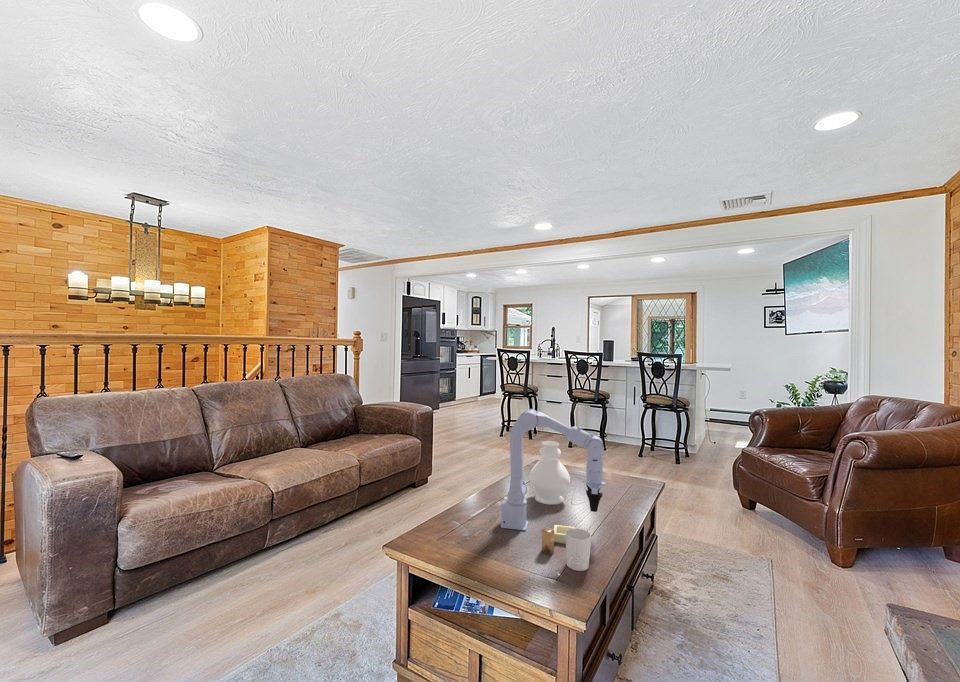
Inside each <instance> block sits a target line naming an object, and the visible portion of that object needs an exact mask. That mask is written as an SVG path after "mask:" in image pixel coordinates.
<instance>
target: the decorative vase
mask: <svg viewBox="0 0 960 682" xmlns="http://www.w3.org/2000/svg"><path fill="white" fill-rule="evenodd" d="M559 446H560V443H559V442H558V441H553V440H545V441H542V442H541V448H539V455H540V456H541V457H542V458H540V460H539V461H537V462H536V463H535V464H534V466H533V467H532V469H531V470H530V472H529V477H528V478H529V483H530V486H531V487H532V488H533V490H534V491H535V493H536V494H535V496H534V499H535V501H536V502H537V503H540V504H544V505H553V506H554V505H560V504H562V503H563V502H564V497H562V495H563V494H564V493H565V492H566V490H567V489H568V488H569V486H570V484H571V476H570V474H569V471H568V470H567V468H566V466H565V465H564V464H563V462H561V461H560V460H559V459H558V458H560V456H561V455H562V452H561V449H560V447H559Z"/></svg>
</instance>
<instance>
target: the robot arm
mask: <svg viewBox="0 0 960 682" xmlns="http://www.w3.org/2000/svg"><path fill="white" fill-rule="evenodd" d="M536 427H537V429H539V428H544V427H545V428H546V427H547V428H548V429H550V430H552V431H555V432H558V433H560V434H562V435H564V436H566V438H567V441H569V442H571V443H573V444H575V445H577V446H579V447H581V448H583V449H587V455H586V469H585V470H586V471H585V474H586V475H585V481H584V482H585V486H586V488H587V490H585V493H586V496H587V498H588V502H589V509H590V512H593V513H595V512H596V513H597V512H598V509H599V504H600V501H601V499H602V497H603V492H600V490H601V488H602V487H604V486H606V485H607V483H606V482H605V481H603V471H604V470H603V466H604V465H603V464H604V458H603V454H604V453H603V452H604V450H605V447H604V442H603V440H602V438H601V437H599V436H598V435H597V434H594V433H592V432H590V433H589V432H587V431H586V430H584V429H582V427H581V426H579V425H577V426H571V427H570V426H568V425H565V424H564V423H562V422H560V421H559V420H556V419H555V418H552V417H551V416H549V415H547V414H545V413H543V412H541V411H537V410H536V409H534V408H527V409H526V410H525V411H523V412H522V413H520V415H519V416H518V418H517V419H516V421H515V422H514V423H513V425H512V426H511V428H510V429H509V446H510V447H509V448H510V450H509V453H510V455H509V456H510V480H509V488H508V489H509V490H508V491H507V494H506V496H507V497H506V498H507V500H502V503H501V509H500V510H501V512H500V528H501V529H509V530H516V531H517V530H518V531H526V530H527V529H528V525H529V521H528V520H527V509H528V508H527V507H528V505H527V504H528V503H527V499H526V497H525V496H526V494H527V492H528V486H527V485H526V482H525V477H524V476H525V475H524V439H523V438H524V435H525V434H526V432H529V431H531V430H533V429H535V428H536Z"/></svg>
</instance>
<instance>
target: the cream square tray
mask: <svg viewBox="0 0 960 682" xmlns="http://www.w3.org/2000/svg"><path fill="white" fill-rule="evenodd" d="M573 528H576V527H575V526H570V525H569V526H567V525H560V524H554V525H553V530H554V543H557V544H565V545H566V531H567V530H568V529H573Z"/></svg>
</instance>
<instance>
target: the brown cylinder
mask: <svg viewBox="0 0 960 682" xmlns="http://www.w3.org/2000/svg"><path fill="white" fill-rule="evenodd" d="M541 552H542V554H544V555H549V556H550V555H554V554H555V542H554V528H550V527H544V528H542V529H541Z"/></svg>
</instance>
